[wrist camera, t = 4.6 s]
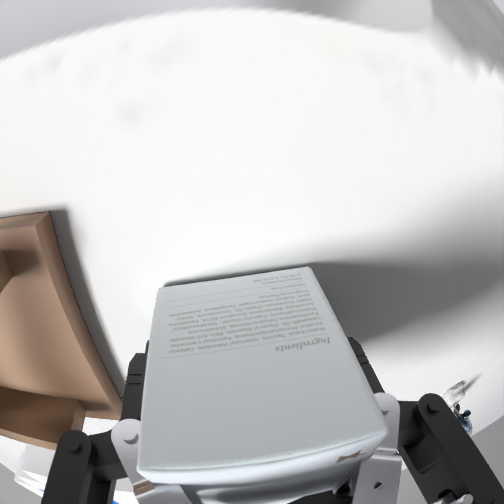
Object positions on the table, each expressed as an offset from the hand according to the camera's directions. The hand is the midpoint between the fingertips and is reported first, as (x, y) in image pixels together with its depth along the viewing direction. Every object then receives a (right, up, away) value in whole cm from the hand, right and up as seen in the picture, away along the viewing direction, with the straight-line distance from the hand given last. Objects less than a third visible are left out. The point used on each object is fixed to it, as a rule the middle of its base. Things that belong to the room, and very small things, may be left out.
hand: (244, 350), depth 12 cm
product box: (0, +1, +1) cm, 1 cm away
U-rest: (-15, 0, -1) cm, 15 cm away
